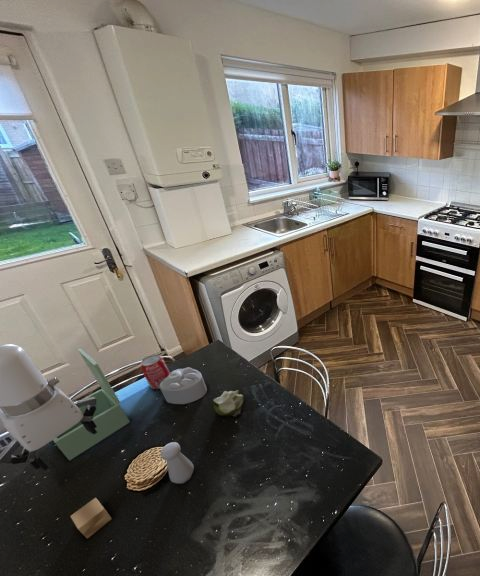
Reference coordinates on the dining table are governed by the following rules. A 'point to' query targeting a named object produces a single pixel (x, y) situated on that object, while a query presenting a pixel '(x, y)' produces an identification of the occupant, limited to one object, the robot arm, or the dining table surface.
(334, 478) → the dining table surface
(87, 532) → the block
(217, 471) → the dining table surface
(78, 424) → the chest
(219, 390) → the dining table surface
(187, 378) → the lumpy-topped squat cylinder
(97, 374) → the lid
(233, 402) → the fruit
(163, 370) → the soda can
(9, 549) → the dining table surface
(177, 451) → the salt shaker
